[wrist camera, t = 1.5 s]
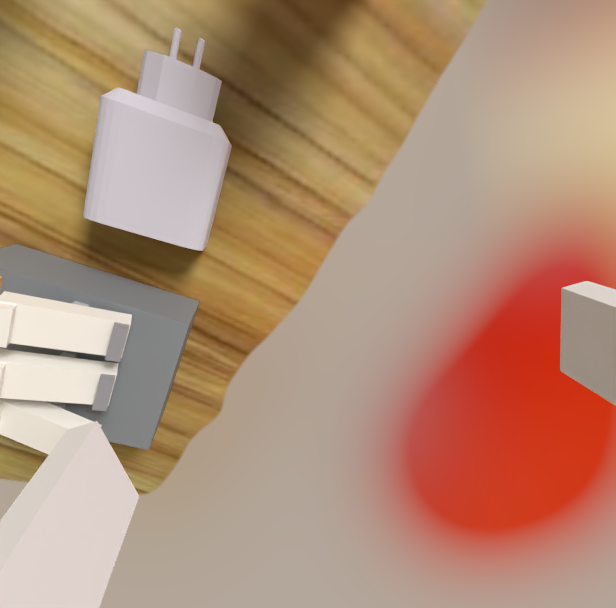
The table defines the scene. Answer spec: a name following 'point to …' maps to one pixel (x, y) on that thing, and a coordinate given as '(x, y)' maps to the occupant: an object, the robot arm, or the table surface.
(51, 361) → the rocker
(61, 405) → the switch unit
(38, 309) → the rocker
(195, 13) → the table surface
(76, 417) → the rocker
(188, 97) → the charger
